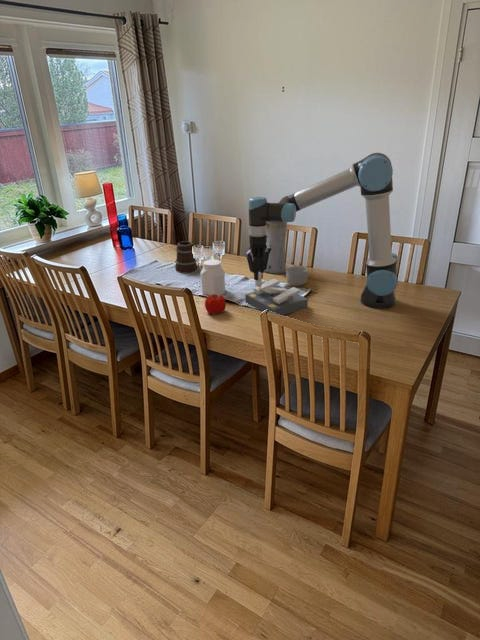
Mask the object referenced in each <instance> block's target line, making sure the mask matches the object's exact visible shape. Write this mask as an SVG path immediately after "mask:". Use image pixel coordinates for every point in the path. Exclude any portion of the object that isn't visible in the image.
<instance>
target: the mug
mask: <svg viewBox="0 0 480 640" xmlns="http://www.w3.org/2000/svg"><path fill="white" fill-rule="evenodd" d="M194 245H195V244H194V243H193V242H192V241H188V240H184V241H183V240H182V241H179V242H178V243H177V244H176V248H175V249H174V250H175V252H176V259H175V261H174V262H175V266H174V268H175V269H176V272H178V271H180V272H179V273H182V272H187V273H193V272H197V270H198V264H197V259H196V258H195V259H196V260H195V259H194V258H193V254H192V246H194ZM192 271H193V272H192Z"/></svg>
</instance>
